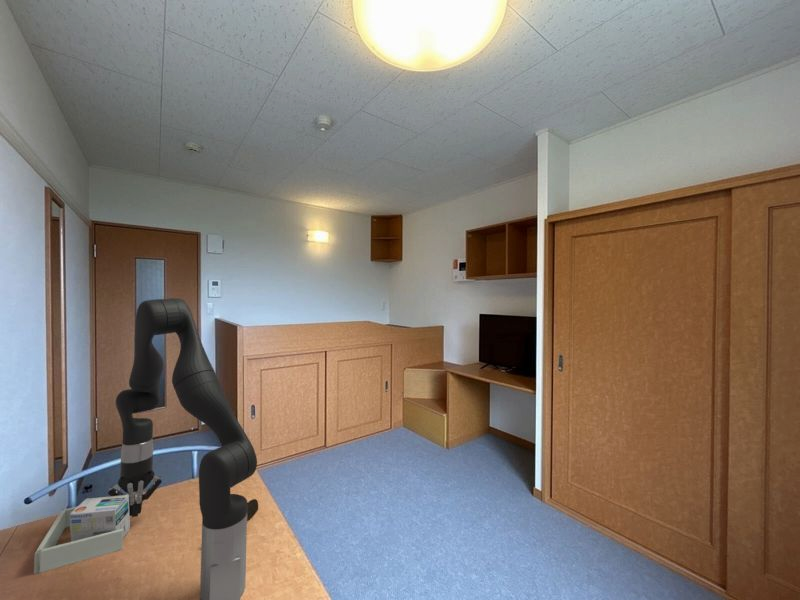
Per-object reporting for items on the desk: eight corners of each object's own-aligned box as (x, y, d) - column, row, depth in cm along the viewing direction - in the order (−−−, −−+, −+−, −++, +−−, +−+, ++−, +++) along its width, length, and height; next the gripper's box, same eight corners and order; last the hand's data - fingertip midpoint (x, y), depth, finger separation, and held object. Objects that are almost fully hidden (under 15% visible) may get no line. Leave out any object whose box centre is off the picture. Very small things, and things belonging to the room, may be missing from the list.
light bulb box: (130, 528, 97) (130, 493, 96) (117, 547, 90) (116, 509, 90) (87, 533, 95) (85, 497, 94) (69, 553, 88) (68, 514, 87)
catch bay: (121, 549, 90) (122, 530, 90) (33, 574, 81) (34, 553, 81) (133, 510, 107) (133, 494, 107) (61, 527, 98) (62, 509, 98)
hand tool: (213, 553, 89) (213, 535, 89) (202, 549, 91) (202, 531, 91) (264, 512, 107) (265, 498, 107) (254, 510, 108) (255, 495, 109)
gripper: (105, 466, 92) (102, 530, 92) (163, 455, 99) (162, 515, 99) (110, 456, 99) (108, 515, 98) (165, 446, 106) (163, 502, 105)
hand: (135, 515), depth 99 cm, fingers closed
